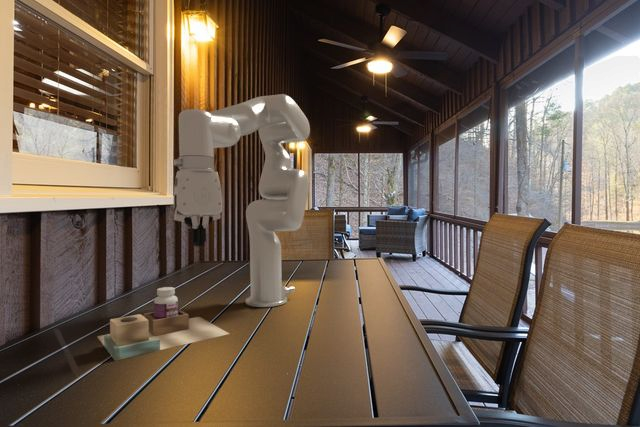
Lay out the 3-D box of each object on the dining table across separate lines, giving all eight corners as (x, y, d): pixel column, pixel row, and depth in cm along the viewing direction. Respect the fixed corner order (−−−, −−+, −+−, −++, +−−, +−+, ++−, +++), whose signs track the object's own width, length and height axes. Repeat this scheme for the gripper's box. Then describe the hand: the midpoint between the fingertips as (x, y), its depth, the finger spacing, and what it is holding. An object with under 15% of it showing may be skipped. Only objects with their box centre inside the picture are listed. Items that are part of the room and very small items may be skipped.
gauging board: (199, 319, 107) (199, 308, 106) (229, 337, 93) (229, 324, 92) (97, 339, 92) (96, 326, 92) (115, 364, 78) (114, 349, 77)
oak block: (140, 341, 88) (140, 313, 88) (149, 348, 83) (148, 319, 83) (110, 347, 84) (109, 319, 84) (117, 356, 80) (116, 325, 79)
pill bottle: (170, 332, 94) (169, 291, 94) (150, 331, 95) (149, 290, 94) (182, 325, 99) (181, 286, 99) (163, 324, 100) (162, 285, 100)
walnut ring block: (177, 321, 102) (176, 307, 102) (188, 329, 96) (188, 314, 96) (144, 327, 97) (143, 313, 97) (154, 336, 91) (153, 321, 91)
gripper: (169, 162, 85) (171, 249, 85) (234, 166, 94) (235, 244, 94) (158, 165, 90) (160, 246, 91) (220, 168, 100) (221, 242, 100)
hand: (198, 245), depth 93 cm, fingers closed
